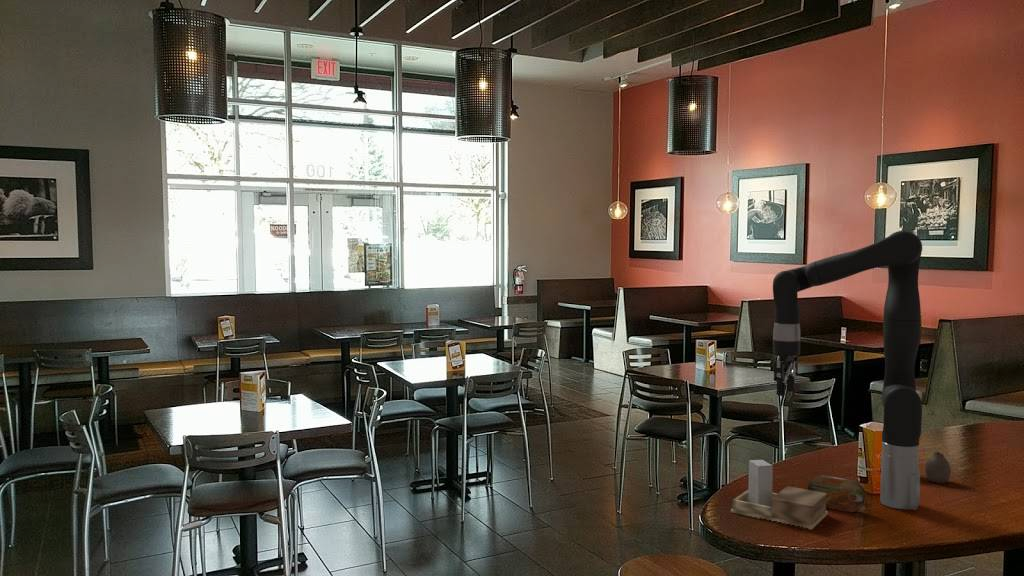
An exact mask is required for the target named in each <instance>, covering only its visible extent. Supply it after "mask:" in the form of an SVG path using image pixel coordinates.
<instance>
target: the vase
mask: <svg viewBox="0 0 1024 576" xmlns="http://www.w3.org/2000/svg"><path fill="white" fill-rule="evenodd" d="M924 472H925V476H926V477H927V479H928V480H929V482H931V481H932V482H931V483H934V482H936V483H935V484H941V483H942V484H945V482H946V483H947V482H948V481H949V480H950V478H951V474H952V468H951V464H950V462H949V460H948V459H946V457H945V456H944V454H943V452H938V451H934V452H933V454H932V455H931V456H930V457H929V458H928V459H927V461H926V462H925V466H924Z"/></svg>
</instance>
